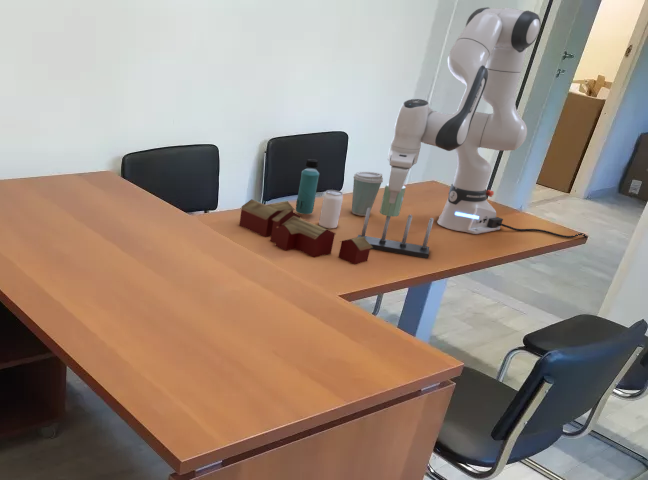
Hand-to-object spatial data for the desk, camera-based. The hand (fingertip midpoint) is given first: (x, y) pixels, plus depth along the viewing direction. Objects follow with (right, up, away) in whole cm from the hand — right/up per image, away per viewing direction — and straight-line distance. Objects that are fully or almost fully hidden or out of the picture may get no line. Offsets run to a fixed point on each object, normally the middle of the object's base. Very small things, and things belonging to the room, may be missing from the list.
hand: (392, 199), depth 225 cm
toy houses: (-28, -13, +7) cm, 31 cm away
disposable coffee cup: (+1, +4, +39) cm, 39 cm away
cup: (0, -4, +2) cm, 5 cm away
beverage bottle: (-22, +2, +32) cm, 39 cm away
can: (-15, -4, +24) cm, 28 cm away
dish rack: (+2, -14, +7) cm, 16 cm away
